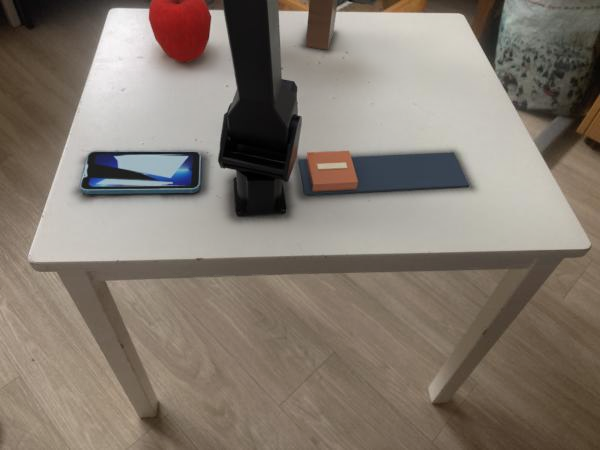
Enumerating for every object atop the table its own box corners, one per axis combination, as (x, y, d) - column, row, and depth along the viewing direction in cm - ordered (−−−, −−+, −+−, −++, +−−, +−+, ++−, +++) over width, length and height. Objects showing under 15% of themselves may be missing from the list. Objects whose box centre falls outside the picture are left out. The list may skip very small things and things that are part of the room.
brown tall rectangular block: (327, 50, 86) (335, -19, 77) (305, 46, 87) (311, -24, 77) (333, 33, 90) (342, -35, 81) (312, 29, 90) (318, -39, 81)
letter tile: (312, 191, 64) (313, 183, 63) (306, 160, 68) (306, 151, 67) (356, 189, 65) (358, 180, 64) (347, 158, 69) (349, 149, 67)
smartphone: (199, 189, 63) (77, 190, 61) (200, 194, 63) (79, 196, 61) (201, 150, 67) (88, 150, 65) (201, 155, 68) (89, 155, 66)
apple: (225, 59, 83) (221, -4, 74) (177, 79, 78) (167, 14, 70) (192, 34, 87) (185, -29, 78) (144, 52, 82) (131, -13, 74)
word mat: (304, 196, 64) (305, 194, 64) (298, 161, 68) (298, 159, 68) (468, 186, 67) (469, 184, 67) (453, 154, 71) (454, 152, 71)
